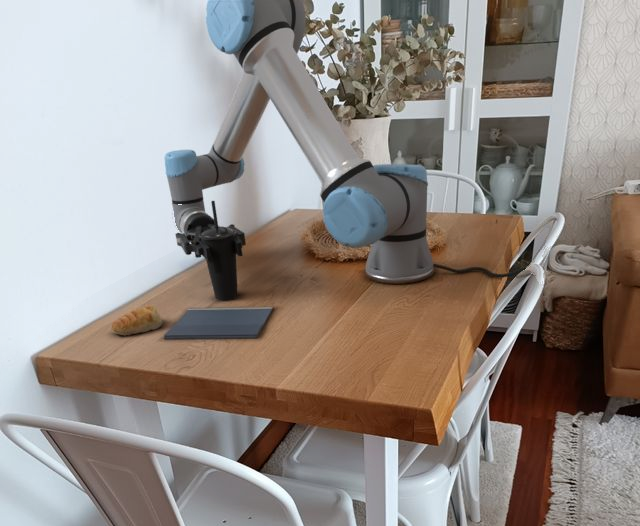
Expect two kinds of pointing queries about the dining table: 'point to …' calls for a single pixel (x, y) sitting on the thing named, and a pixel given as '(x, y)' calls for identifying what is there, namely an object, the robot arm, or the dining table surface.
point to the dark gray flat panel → (220, 323)
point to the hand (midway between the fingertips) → (224, 252)
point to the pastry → (137, 321)
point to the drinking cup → (221, 259)
